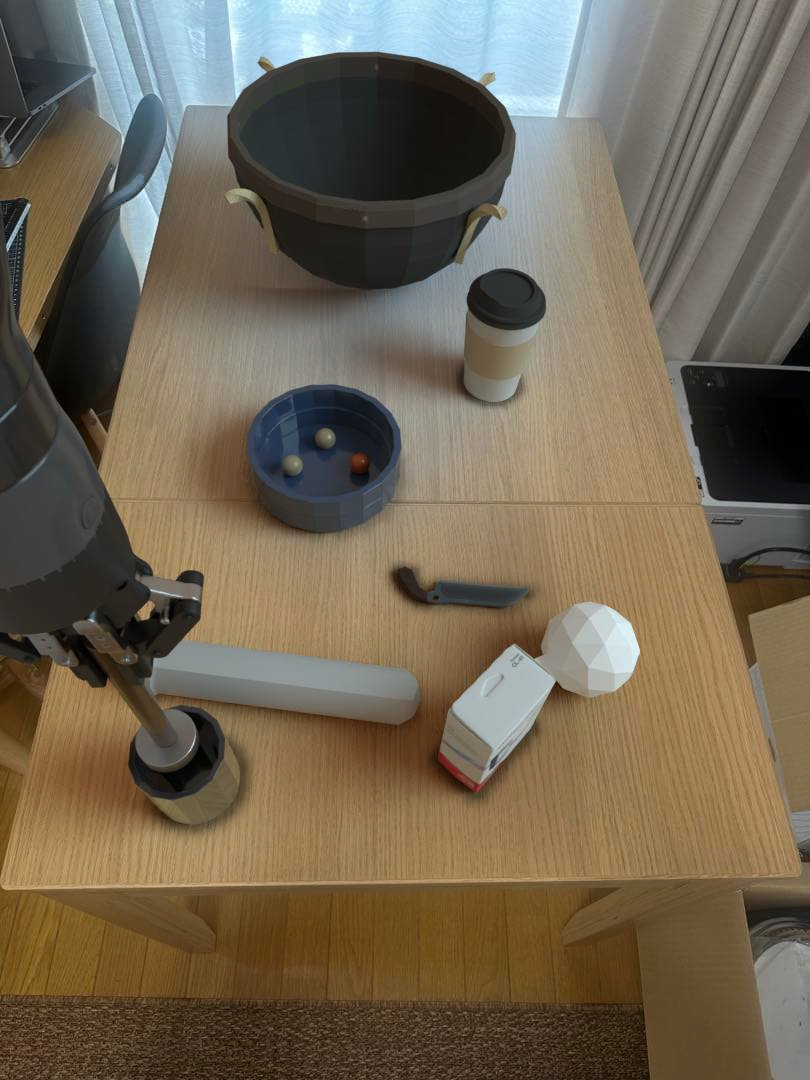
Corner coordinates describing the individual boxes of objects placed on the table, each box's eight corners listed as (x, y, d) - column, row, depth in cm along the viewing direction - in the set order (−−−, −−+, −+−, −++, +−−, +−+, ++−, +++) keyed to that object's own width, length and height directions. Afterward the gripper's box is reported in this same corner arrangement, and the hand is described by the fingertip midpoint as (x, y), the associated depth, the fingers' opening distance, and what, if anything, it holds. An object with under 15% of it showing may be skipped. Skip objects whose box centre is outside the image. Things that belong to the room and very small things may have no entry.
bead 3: (349, 478, 84) (349, 465, 82) (348, 462, 85) (348, 448, 83) (370, 477, 84) (370, 464, 82) (369, 461, 86) (369, 448, 84)
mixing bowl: (250, 537, 80) (243, 505, 75) (255, 421, 89) (249, 385, 84) (403, 531, 81) (406, 499, 76) (393, 418, 90) (395, 382, 85)
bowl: (488, 196, 116) (510, 57, 99) (499, 356, 97) (528, 218, 80) (261, 183, 115) (244, 40, 98) (228, 342, 96) (199, 199, 79)
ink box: (474, 795, 66) (494, 757, 56) (432, 756, 68) (444, 712, 58) (533, 727, 70) (561, 679, 60) (492, 691, 72) (513, 640, 62)
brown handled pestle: (136, 774, 55) (47, 675, 39) (143, 717, 57) (62, 602, 41) (197, 771, 55) (133, 672, 39) (201, 714, 58) (143, 599, 42)
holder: (150, 828, 64) (122, 803, 56) (159, 741, 68) (134, 707, 60) (238, 822, 64) (221, 797, 57) (242, 736, 68) (227, 702, 61)
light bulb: (597, 596, 76) (491, 640, 74) (628, 580, 67) (508, 630, 65) (635, 675, 74) (527, 723, 73) (672, 670, 65) (550, 724, 64)
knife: (395, 601, 76) (395, 598, 76) (398, 568, 79) (398, 565, 78) (530, 613, 76) (531, 610, 76) (529, 579, 79) (531, 576, 78)
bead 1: (282, 480, 83) (280, 467, 81) (282, 463, 85) (280, 450, 83) (303, 479, 84) (302, 466, 82) (303, 463, 85) (302, 449, 83)
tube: (426, 658, 69) (161, 623, 69) (422, 703, 65) (140, 666, 65) (420, 695, 72) (167, 662, 73) (415, 740, 68) (147, 705, 68)
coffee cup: (491, 347, 98) (511, 248, 85) (540, 387, 94) (567, 290, 82) (440, 376, 94) (452, 278, 82) (488, 419, 91) (509, 323, 78)
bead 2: (315, 453, 86) (314, 440, 84) (315, 437, 87) (314, 423, 85) (336, 452, 86) (335, 439, 84) (335, 437, 87) (335, 423, 85)
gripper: (186, 432, 33) (239, 612, 47) (-142, 438, 32) (15, 620, 46) (170, 580, 29) (232, 726, 43) (-207, 593, 28) (-12, 739, 42)
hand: (120, 671), depth 45 cm, fingers closed on brown handled pestle
